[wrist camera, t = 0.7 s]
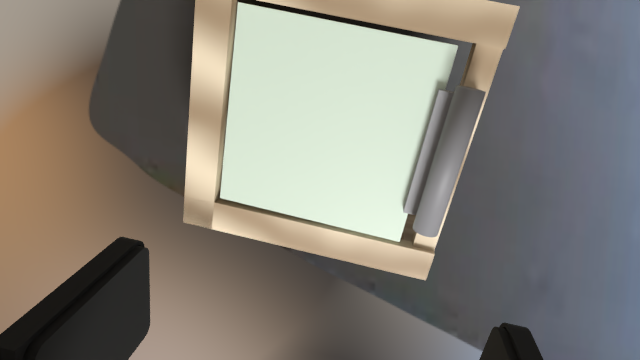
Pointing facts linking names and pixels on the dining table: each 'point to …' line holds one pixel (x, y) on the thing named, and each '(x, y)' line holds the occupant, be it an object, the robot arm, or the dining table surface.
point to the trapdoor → (343, 123)
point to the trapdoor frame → (211, 114)
